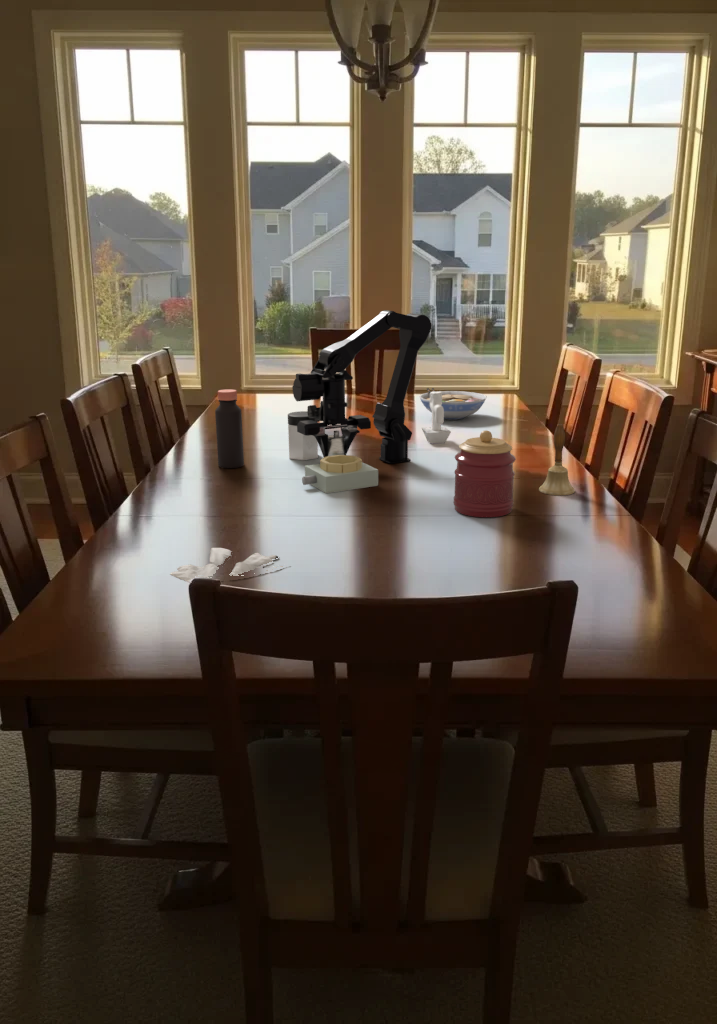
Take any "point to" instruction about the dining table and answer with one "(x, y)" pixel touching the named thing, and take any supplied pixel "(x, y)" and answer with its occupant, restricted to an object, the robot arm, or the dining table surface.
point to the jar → (301, 438)
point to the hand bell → (557, 469)
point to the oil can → (335, 444)
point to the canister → (484, 477)
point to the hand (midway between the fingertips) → (334, 457)
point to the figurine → (436, 421)
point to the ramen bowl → (456, 403)
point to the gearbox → (340, 474)
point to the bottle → (229, 430)
